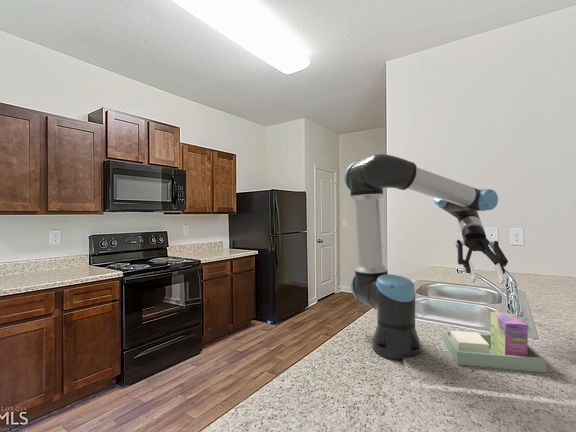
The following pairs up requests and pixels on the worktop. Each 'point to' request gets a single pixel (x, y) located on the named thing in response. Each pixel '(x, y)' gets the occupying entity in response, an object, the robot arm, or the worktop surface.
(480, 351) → the carton
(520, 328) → the box
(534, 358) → the tote
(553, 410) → the worktop surface
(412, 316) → the robot arm
